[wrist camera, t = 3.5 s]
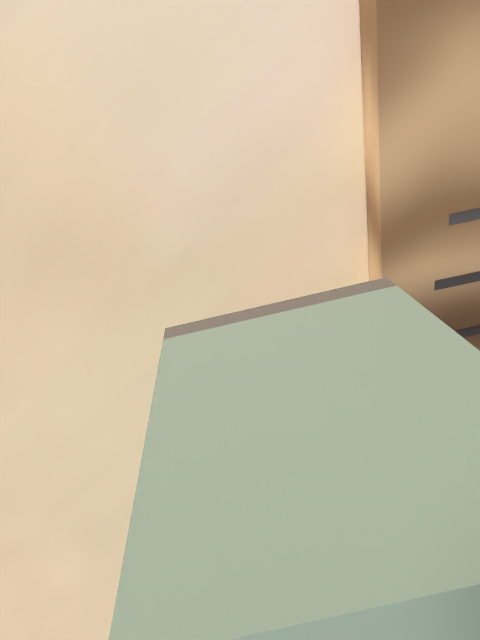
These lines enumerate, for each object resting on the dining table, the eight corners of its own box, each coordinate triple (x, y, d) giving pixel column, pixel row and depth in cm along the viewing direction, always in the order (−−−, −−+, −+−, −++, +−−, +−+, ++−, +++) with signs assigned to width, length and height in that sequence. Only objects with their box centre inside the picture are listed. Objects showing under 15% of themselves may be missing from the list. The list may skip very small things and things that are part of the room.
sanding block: (395, 511, 12) (551, 818, 7) (240, 546, 12) (271, 877, 7) (386, 277, 8) (711, 533, 3) (165, 328, 8) (103, 668, 3)
